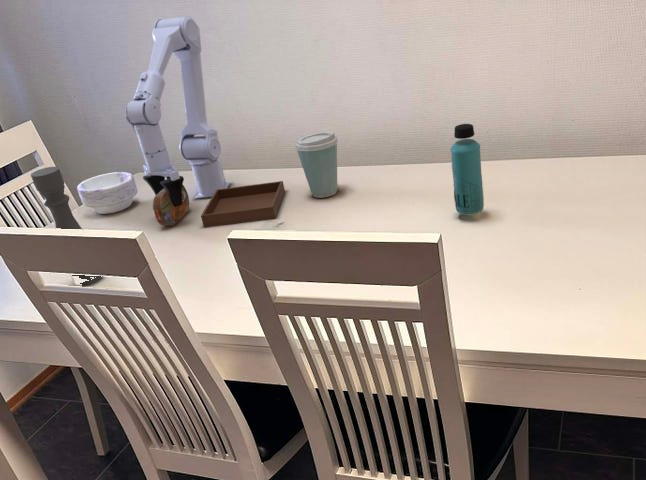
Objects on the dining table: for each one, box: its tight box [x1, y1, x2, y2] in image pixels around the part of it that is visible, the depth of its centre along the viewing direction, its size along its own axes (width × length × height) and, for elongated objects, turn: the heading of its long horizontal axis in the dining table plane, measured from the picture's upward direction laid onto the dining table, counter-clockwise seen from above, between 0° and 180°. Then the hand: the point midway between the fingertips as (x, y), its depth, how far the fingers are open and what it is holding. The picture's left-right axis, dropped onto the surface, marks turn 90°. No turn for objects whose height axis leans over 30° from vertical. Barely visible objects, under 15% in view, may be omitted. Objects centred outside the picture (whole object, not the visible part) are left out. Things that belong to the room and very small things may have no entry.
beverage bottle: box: [450, 123, 485, 215], centre depth 151 cm, size 6×7×20 cm
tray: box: [200, 180, 286, 228], centre depth 180 cm, size 18×18×3 cm
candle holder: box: [30, 166, 103, 287], centre depth 151 cm, size 6×6×25 cm
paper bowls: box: [76, 171, 139, 215], centre depth 195 cm, size 15×15×8 cm
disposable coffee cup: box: [295, 130, 339, 199], centre depth 178 cm, size 11×11×15 cm
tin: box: [152, 184, 190, 227], centre depth 180 cm, size 15×3×8 cm, turn 168°
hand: (170, 203), depth 180 cm, fingers open, 7 cm apart
